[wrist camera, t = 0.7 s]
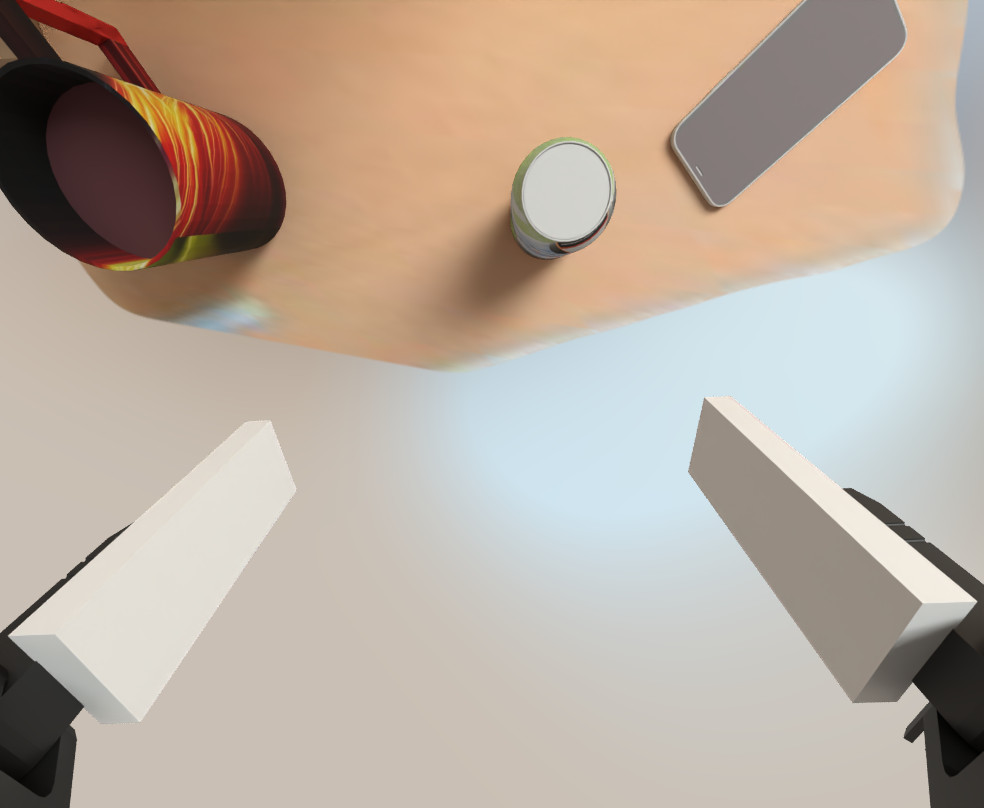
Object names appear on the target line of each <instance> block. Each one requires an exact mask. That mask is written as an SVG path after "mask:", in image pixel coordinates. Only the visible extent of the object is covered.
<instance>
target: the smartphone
mask: <svg viewBox="0 0 984 808" xmlns="http://www.w3.org/2000/svg"><path fill="white" fill-rule="evenodd" d="M906 40H907V27H906V25H905V22H904V19H903V17H902V14H901V11H900V9H899V6H898V3H897V1H896V0H802V1H801V2H800V3H799V4H798V5H797V6H796V7H795V8H794V9H793V10H792V11H791V12H790V13H789V14H788V15H787V16H786V17H785V18H784V19H783V20H782V21H781V22H780V23H779V24H778V25H777V26H776V27H775V28H774V29H773V30H772V31H771V32H770V33H769V34H768V35H767V36H766V37H765V38H764V39H763V40H762V41H761V42H760V43H759V44H758V45H757V46H756V47H755V48H754V49H753V50H752V51H751V52H750V53H749V54H748V55H747V56H746V57H745V58H744V59H743V60H742V61H741V62H740V63H739V64H738V65H737V66H736V67H735V68H734V69H732V70H731V71H730V72H729V73H728V74H727V75H726V76H725V77H724V78H723V79H722V80H721V81H720V82H719V83H718V84H717V85H716V86H715V87H714V88H713V89H712V90H711V91H710V92H709V93H708V94H707V95H706V96H705V97H704V98H703V99H702V100H701V101H700V102H699V103H698V104H697V105H696V106H695V107H694V108H693V109H692V110H691V111H690V112H689V113H688V114H687V115H686V116H685V117H684V118H683V119H682V120H681V121H680V122H679V123H678V124H677V126H676V127H675V128H674V130H673V132H672V134H671V141H670V142H671V147H672V149H673V151H674V152H675V154H676V155H677V157H678V158H679V160H680V162H681V163H682V165H683V166H684V168H685V169H686V171H687V172H688V174H689V175H690V177H691V178H692V180H693V181H694V183H695V184H696V186H697V187H698V189H699V191H700V192H701V194H702V195H703V197H704V198H705V200H706V201H707V202H708V204H710V205H711V206H714V207H722V206H726V205H728V204H729V203H730V202H732V201H733V200H734V199H735V198H736V197H737V196H739V195H740V194H741V193H742V192H743V191H744V190H745V189H747V188H748V187H749V186H750V185H751V184H752V183H753V182H755V181H756V180H757V179H758V178H759V177H760V176H761V175H763V174H764V173H765V172H766V171H767V170H768V169H769V168H771V167H772V166H773V165H774V164H775V163H776V162H777V161H778V160H780V159H781V158H782V157H783V156H784V155H785V154H786V153H788V152H789V151H790V150H791V149H792V148H793V147H794V146H796V145H797V144H798V143H799V142H800V141H801V140H802V139H804V138H805V137H806V136H807V135H808V134H809V133H810V132H812V131H813V130H814V129H815V128H816V127H817V126H818V125H819V124H821V123H822V122H823V121H824V120H825V119H826V118H827V117H829V116H830V115H831V114H832V113H833V112H834V111H835V110H837V109H838V108H839V107H840V106H841V105H842V104H843V103H845V102H846V101H847V100H848V99H849V98H850V97H851V96H853V95H854V94H855V93H856V92H857V91H858V90H859V89H860V88H862V87H863V86H864V85H865V84H866V83H867V82H868V81H870V80H871V79H872V78H873V77H874V76H875V75H876V74H878V73H879V72H880V71H881V70H882V69H883V68H884V67H886V66H887V65H888V64H889V63H890V62H891V61H892V60H893V59H895V58H896V57H897V56H898V54H899V53H900V52H901V51H902V49H903V47H904V45H905V43H906Z"/></svg>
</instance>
